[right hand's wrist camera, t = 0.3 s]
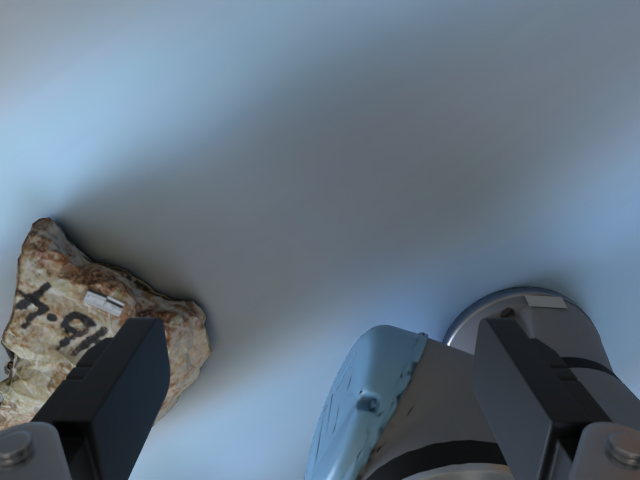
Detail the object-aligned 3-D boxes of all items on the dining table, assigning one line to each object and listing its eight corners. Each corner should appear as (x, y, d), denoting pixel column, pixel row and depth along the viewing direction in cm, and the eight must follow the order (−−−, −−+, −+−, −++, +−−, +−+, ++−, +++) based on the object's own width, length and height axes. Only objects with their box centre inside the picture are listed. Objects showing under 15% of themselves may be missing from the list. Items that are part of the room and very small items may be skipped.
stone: (229, 332, 39) (123, 519, 46) (240, 300, 44) (144, 472, 52) (8, 229, 36) (-67, 447, 43) (49, 208, 41) (-24, 405, 49)
